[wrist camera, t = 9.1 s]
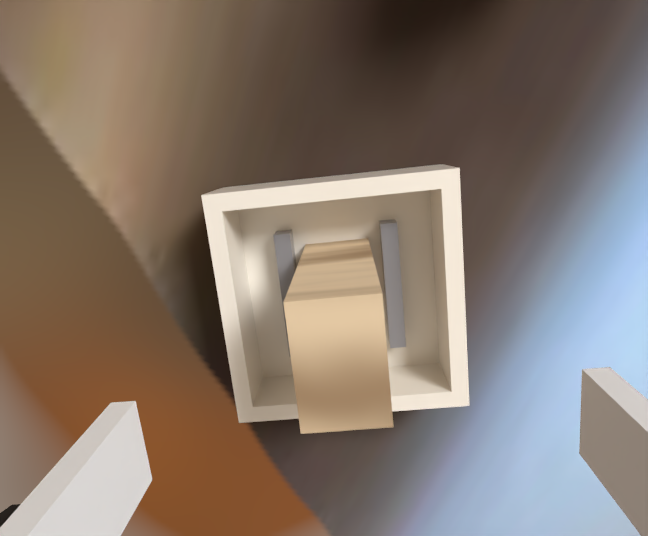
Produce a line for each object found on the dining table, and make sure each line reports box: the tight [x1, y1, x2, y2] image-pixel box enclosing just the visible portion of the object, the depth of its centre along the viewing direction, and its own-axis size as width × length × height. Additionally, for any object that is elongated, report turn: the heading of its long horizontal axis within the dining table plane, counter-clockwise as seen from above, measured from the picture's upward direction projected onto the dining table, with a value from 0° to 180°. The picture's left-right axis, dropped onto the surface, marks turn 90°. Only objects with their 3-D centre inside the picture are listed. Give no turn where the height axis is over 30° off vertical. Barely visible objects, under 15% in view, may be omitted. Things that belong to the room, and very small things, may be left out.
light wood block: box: [283, 238, 393, 434], centre depth 26 cm, size 6×4×12 cm, turn 6°
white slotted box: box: [201, 164, 469, 423], centre depth 31 cm, size 14×14×5 cm
